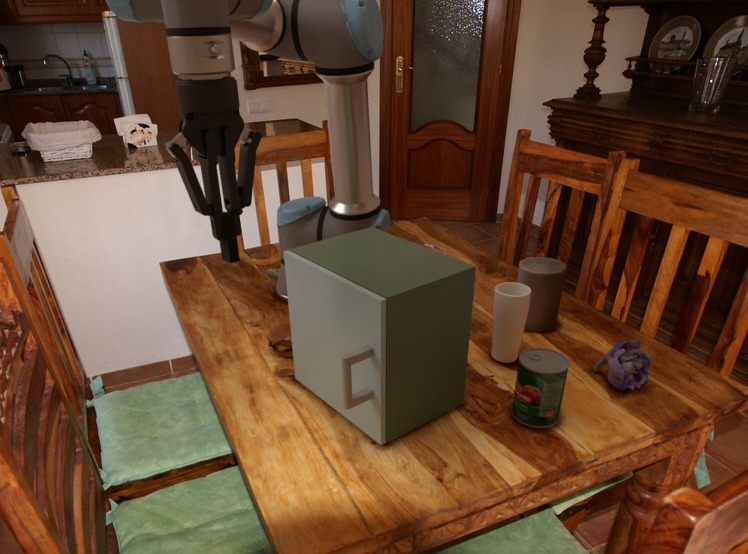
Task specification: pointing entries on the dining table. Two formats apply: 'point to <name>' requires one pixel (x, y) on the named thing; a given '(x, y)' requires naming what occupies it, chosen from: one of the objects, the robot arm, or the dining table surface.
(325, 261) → the cupboard
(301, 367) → the door
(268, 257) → the dining table surface
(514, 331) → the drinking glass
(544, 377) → the canned tomato
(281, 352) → the burger
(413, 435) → the dining table surface
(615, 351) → the flower
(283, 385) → the dining table surface
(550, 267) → the pillar candle
